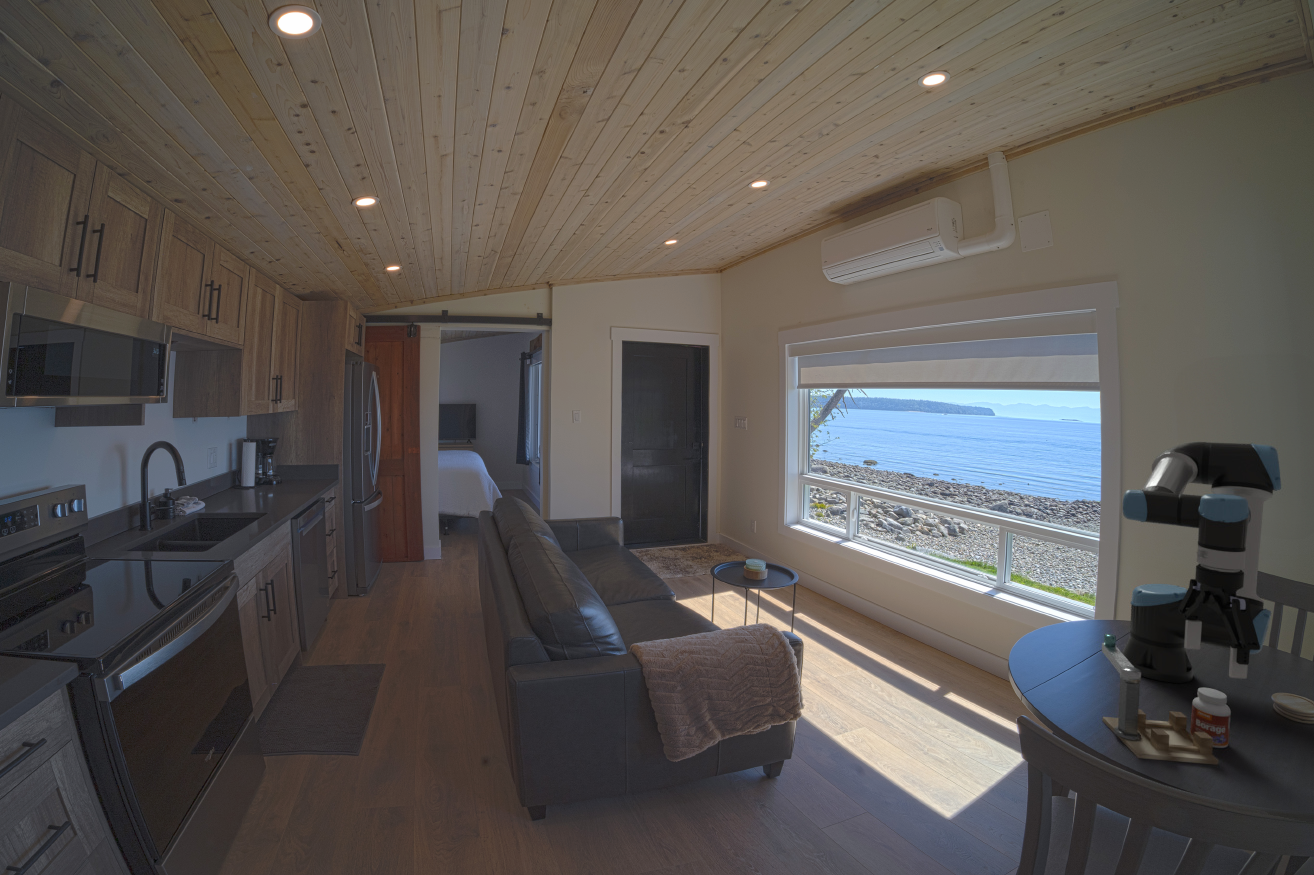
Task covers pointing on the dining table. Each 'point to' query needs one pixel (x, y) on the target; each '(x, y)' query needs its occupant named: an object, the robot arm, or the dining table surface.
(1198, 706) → the pill bottle
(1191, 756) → the socket board
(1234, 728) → the dining table surface
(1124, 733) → the post
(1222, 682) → the dining table surface
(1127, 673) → the keeper bar
